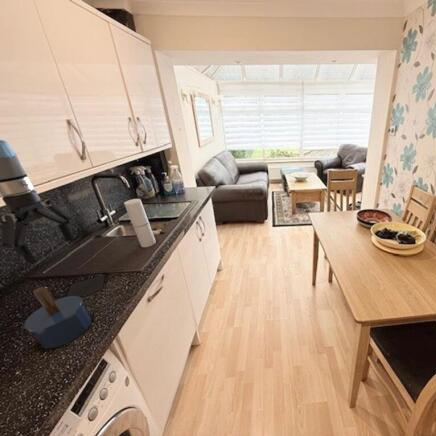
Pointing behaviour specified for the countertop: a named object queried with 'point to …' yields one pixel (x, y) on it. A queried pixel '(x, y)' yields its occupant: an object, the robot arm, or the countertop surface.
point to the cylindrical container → (140, 222)
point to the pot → (64, 330)
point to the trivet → (86, 286)
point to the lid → (51, 310)
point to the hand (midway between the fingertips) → (52, 250)
